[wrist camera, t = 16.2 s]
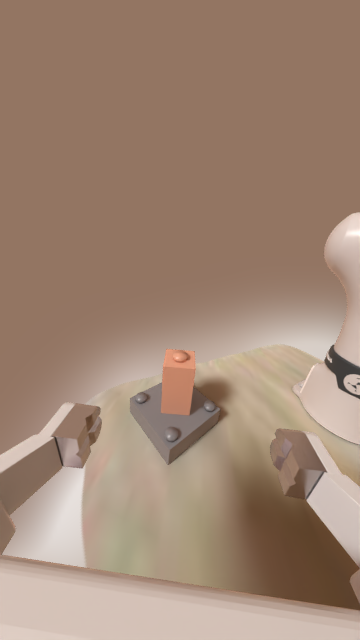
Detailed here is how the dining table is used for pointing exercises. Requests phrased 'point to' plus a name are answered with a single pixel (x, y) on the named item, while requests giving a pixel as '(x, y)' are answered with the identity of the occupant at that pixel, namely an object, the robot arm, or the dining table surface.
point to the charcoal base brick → (173, 421)
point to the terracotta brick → (177, 381)
